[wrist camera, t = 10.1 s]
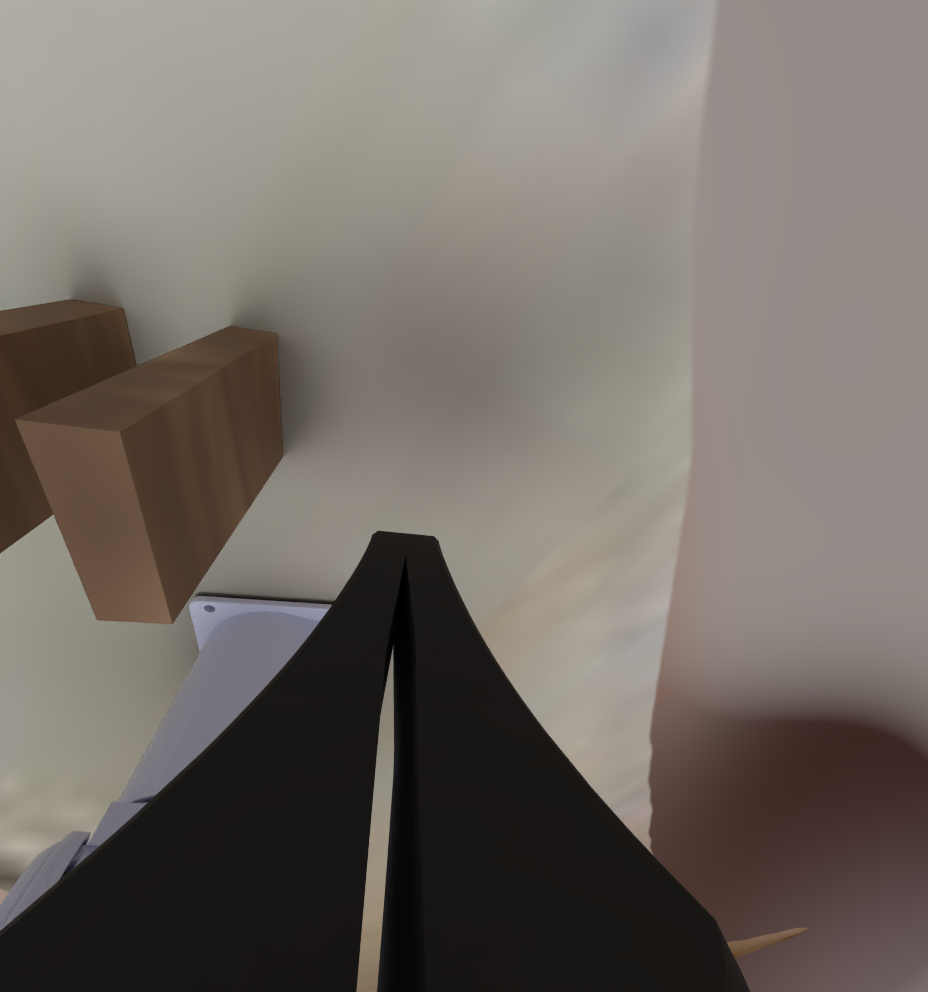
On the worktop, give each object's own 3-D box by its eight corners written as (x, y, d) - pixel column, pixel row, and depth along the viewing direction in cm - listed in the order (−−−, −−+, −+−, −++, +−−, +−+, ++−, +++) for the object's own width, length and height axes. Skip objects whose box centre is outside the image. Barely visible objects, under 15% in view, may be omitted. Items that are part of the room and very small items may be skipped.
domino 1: (123, 308, 14) (-239, 388, 6) (153, 440, 17) (-78, 610, 9) (70, 299, 14) (-373, 372, 6) (109, 435, 16) (-168, 605, 9)
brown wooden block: (276, 333, 15) (119, 432, 7) (283, 455, 17) (172, 623, 10) (229, 326, 15) (14, 419, 7) (243, 451, 17) (96, 619, 9)
